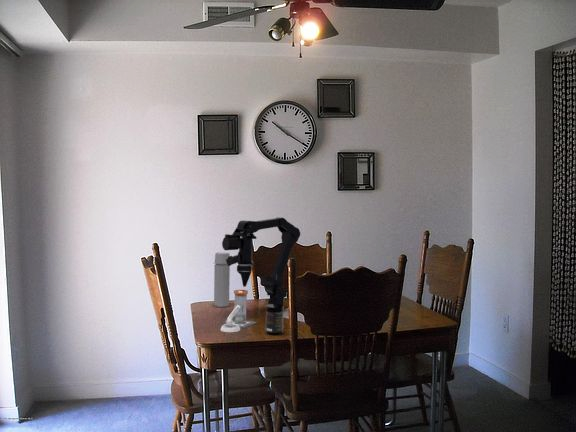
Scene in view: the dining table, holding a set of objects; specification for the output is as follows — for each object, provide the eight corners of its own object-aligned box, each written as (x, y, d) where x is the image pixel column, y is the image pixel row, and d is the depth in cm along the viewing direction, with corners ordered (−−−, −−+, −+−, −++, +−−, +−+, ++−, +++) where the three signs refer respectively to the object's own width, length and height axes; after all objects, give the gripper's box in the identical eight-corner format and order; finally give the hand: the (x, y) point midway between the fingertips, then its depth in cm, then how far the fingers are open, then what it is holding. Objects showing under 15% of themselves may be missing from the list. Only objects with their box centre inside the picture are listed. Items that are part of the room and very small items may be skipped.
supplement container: (286, 332, 204) (286, 305, 203) (277, 336, 198) (278, 308, 197) (271, 329, 207) (271, 303, 206) (262, 333, 201) (262, 306, 200)
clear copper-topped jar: (244, 320, 219) (245, 289, 218) (248, 323, 213) (249, 291, 213) (231, 321, 216) (232, 290, 216) (235, 324, 211) (236, 292, 211)
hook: (252, 319, 202) (237, 309, 200) (233, 343, 203) (218, 333, 202) (251, 311, 209) (237, 301, 207) (233, 333, 210) (219, 324, 209)
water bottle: (231, 307, 247) (231, 253, 246) (214, 307, 245) (214, 253, 244) (228, 303, 256) (229, 251, 255) (212, 303, 254) (212, 251, 253)
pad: (235, 320, 222) (235, 319, 222) (256, 323, 217) (256, 321, 217) (222, 325, 213) (222, 324, 213) (243, 328, 208) (243, 327, 208)
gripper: (228, 247, 241) (228, 281, 241) (225, 251, 222) (224, 288, 223) (253, 247, 241) (252, 281, 242) (251, 251, 223) (251, 288, 223)
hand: (245, 284), depth 232 cm, fingers open, 9 cm apart
